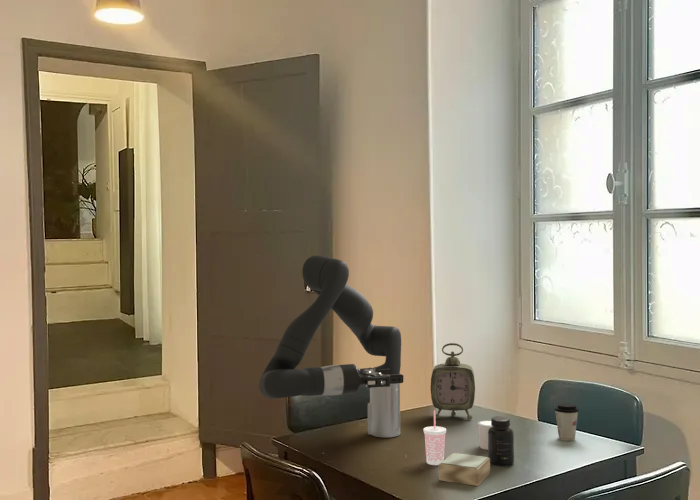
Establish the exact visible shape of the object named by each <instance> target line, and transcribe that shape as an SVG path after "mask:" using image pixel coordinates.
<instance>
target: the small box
mask: <svg viewBox="0 0 700 500" xmlns="http://www.w3.org/2000/svg"><path fill="white" fill-rule="evenodd" d="M489 475H491V464H490V458H488V456H482V455H473V454H466V453H458V452H453V453H451V454H449V456H447V457H446V458H444V460H443V461H442V462H441V463H440V464H439V465H438V480H439V481H442V482H443V481H444V482H449V483H454V484H462V485H470V486H477V487H478V486H480V485H481V484H482V482H484V481H485V480H486V479H487V478H488V477H489Z"/></svg>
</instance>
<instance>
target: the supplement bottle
mask: <svg viewBox="0 0 700 500" xmlns="http://www.w3.org/2000/svg"><path fill="white" fill-rule="evenodd" d="M510 420H511V419H510V418H509V417H508V416H503V415H501V416H500V415H495V416H493V417H491V425H492V427H491V428H489V430H488V450H487V457H488V458H490V465H493V466H495V467H510V466H512V465H513V464H514V463H515V434H514V432H515V431H514V430H513V429H512V428H511V427H510V426H511V421H510Z"/></svg>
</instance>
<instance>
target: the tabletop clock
mask: <svg viewBox="0 0 700 500" xmlns="http://www.w3.org/2000/svg"><path fill="white" fill-rule="evenodd" d="M448 346H457V347H459V348H460V349H461V351H460V352H458V353H455V351H451V352H450V353H447V352H446V351H444V349H445V348H446V347H448ZM441 352H442V353H443V354H444V355H446V356H447V357H446V360H445V362H444V363H440V364H436V365H434V367H433V370H432V373H431V378H430V394H431V395H430V396H431V397H430V398H431V401H432V405H433V407H434V408H436V409H438V411H437V413H435V414H436V420H438V419H440V413H441V412H442V410H443V411H451V413H450V416H452V417H455V416H456V415H457V414H456V412H457V411H465V413H466V415H467V416H466V418H467V420H468V421H471V420H472V419H473V416H472V414H470V413H469V411H468V410H471V409H472V408H473V406H474V403H475V399H476V397H475V395H476V384H475V383H476V382H475V374H474V369H473V367H472V366H471V365H470V364H466V363H461V360H460V358H458V357H457V356H460V355H462V354H463V352H464V348H463V346H462V345H460V344H458V343H455V342H450V343H446V344H444V345H443V346H442V348H441ZM455 411H456V412H455Z"/></svg>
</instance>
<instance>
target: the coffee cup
mask: <svg viewBox="0 0 700 500" xmlns="http://www.w3.org/2000/svg"><path fill="white" fill-rule="evenodd" d="M553 410H554V412H555V418H556V427H557V433H558V439H559V440H561V441H565V442H567V441H568V442H569V441H575V440H576V434H577V433H576V432H577V424H578V416H579V415H578V414H579V411H580V410H579V408H578V407H577V406H576V404H573V403H568V402H566V403H565V402H562V403H558V405H557V406H555V407H554V409H553Z"/></svg>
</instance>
